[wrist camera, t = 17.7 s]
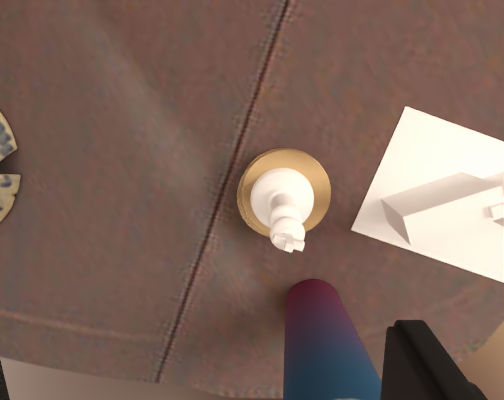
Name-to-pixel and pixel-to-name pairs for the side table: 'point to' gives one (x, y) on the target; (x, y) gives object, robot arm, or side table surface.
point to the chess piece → (283, 206)
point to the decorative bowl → (7, 185)
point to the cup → (324, 348)
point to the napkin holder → (440, 194)
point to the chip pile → (292, 161)
